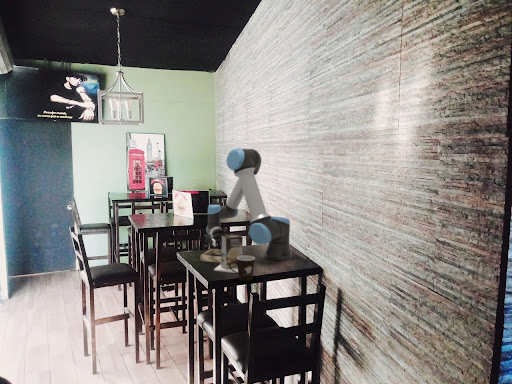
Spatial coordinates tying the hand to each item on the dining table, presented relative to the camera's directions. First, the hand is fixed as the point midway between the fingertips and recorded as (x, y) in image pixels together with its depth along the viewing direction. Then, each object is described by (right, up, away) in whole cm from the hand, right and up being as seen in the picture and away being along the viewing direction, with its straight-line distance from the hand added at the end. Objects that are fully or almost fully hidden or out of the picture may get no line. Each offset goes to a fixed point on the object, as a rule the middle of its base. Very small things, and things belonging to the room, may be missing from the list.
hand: (227, 243), depth 201 cm
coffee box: (+2, -12, -5) cm, 13 cm away
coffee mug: (+8, -14, -21) cm, 26 cm away
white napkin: (+2, -12, -5) cm, 14 cm away
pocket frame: (-6, -10, +12) cm, 17 cm away
